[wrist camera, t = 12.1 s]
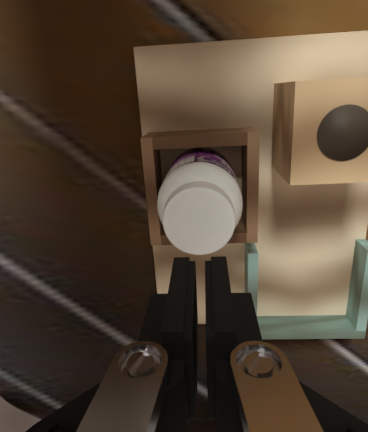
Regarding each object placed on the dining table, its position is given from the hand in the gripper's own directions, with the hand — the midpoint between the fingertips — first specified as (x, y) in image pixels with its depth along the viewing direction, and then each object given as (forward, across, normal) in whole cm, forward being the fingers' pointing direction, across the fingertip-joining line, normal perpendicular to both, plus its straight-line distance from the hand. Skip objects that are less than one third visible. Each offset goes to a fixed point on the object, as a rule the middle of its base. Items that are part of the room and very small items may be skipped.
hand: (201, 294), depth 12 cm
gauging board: (+17, -4, +2) cm, 18 cm away
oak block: (+16, -8, -4) cm, 19 cm away
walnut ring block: (+16, 0, 0) cm, 16 cm away
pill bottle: (+16, 0, 0) cm, 17 cm away
